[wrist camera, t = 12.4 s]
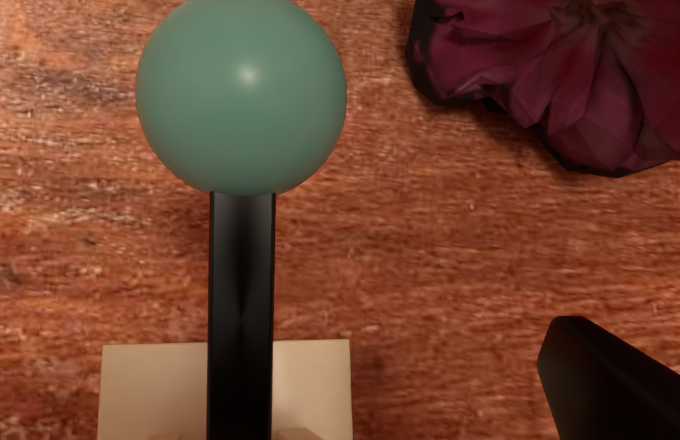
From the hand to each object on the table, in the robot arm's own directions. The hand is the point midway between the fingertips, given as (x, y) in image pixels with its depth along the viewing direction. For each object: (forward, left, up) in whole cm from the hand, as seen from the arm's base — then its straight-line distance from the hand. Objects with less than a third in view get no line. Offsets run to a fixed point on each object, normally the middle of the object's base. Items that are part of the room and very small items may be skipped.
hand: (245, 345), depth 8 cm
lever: (+1, 0, -4) cm, 4 cm away
